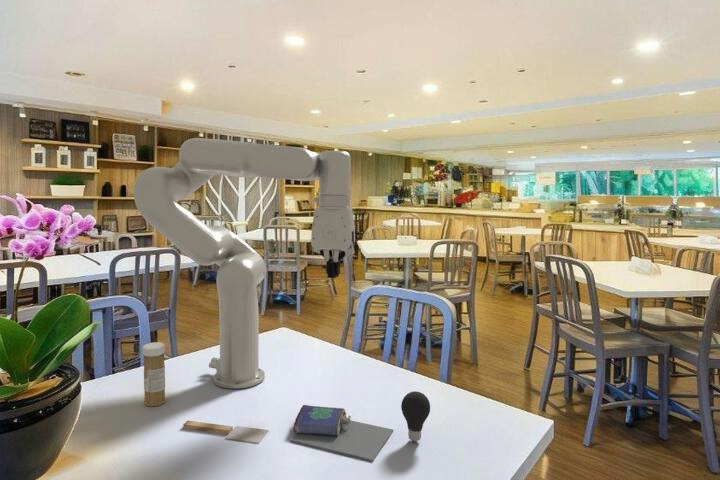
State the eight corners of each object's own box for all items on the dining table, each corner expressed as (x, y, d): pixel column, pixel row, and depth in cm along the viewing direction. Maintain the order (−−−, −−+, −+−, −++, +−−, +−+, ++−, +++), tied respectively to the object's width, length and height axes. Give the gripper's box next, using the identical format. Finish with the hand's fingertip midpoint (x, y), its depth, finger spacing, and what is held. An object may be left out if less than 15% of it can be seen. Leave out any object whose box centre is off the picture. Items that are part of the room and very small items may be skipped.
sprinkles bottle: (145, 399, 110) (144, 342, 109) (166, 397, 112) (165, 340, 110) (142, 408, 106) (141, 348, 105) (165, 406, 107) (163, 347, 106)
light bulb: (421, 452, 91) (423, 401, 90) (395, 443, 94) (396, 394, 93) (433, 439, 96) (435, 391, 95) (407, 431, 99) (409, 384, 98)
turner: (178, 433, 96) (178, 428, 96) (192, 421, 101) (192, 416, 101) (258, 444, 93) (258, 439, 93) (268, 431, 98) (268, 426, 97)
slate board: (290, 441, 94) (290, 439, 94) (318, 415, 105) (318, 413, 105) (372, 461, 87) (372, 459, 87) (393, 431, 99) (393, 429, 98)
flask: (293, 435, 96) (347, 438, 94) (293, 421, 95) (347, 424, 94) (304, 414, 105) (353, 417, 103) (304, 401, 104) (353, 403, 103)
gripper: (299, 201, 117) (299, 276, 119) (357, 204, 111) (355, 282, 113) (314, 201, 124) (313, 272, 126) (368, 203, 118) (366, 277, 120)
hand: (333, 277), depth 119 cm, fingers closed
